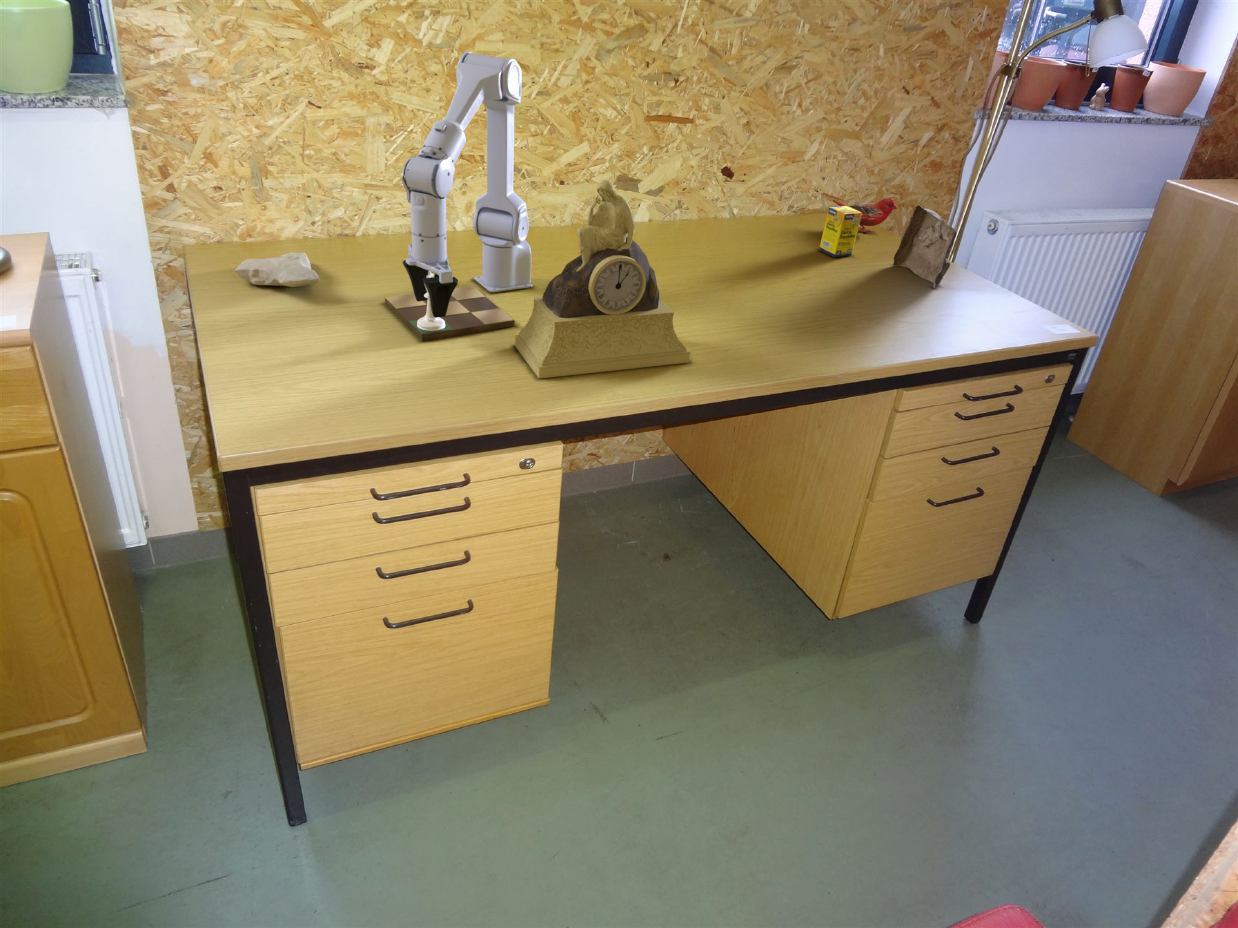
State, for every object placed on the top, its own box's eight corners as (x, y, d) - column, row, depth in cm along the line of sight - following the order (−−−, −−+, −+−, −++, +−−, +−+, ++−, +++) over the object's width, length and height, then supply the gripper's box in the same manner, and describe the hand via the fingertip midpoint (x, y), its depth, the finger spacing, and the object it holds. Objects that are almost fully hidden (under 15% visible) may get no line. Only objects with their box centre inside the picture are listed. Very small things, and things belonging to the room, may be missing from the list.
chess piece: (450, 323, 154) (449, 270, 149) (436, 333, 150) (435, 278, 145) (425, 318, 156) (424, 264, 150) (411, 327, 152) (409, 273, 146)
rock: (237, 306, 156) (322, 295, 160) (230, 281, 153) (317, 271, 158) (241, 272, 173) (318, 263, 177) (235, 250, 171) (313, 241, 175)
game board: (472, 292, 172) (472, 285, 171) (514, 326, 159) (514, 319, 159) (385, 303, 162) (384, 297, 162) (421, 341, 150) (421, 334, 150)
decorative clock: (538, 378, 142) (547, 195, 126) (515, 346, 152) (520, 172, 136) (688, 362, 153) (714, 192, 137) (657, 333, 163) (678, 171, 147)
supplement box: (834, 258, 212) (844, 213, 206) (818, 250, 216) (828, 206, 211) (852, 256, 215) (862, 212, 209) (835, 248, 219) (846, 205, 213)
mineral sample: (891, 264, 212) (908, 203, 204) (904, 264, 213) (922, 203, 205) (934, 290, 199) (954, 225, 191) (948, 289, 200) (968, 225, 192)
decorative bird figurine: (888, 239, 231) (898, 201, 226) (825, 223, 238) (834, 187, 232) (891, 236, 233) (901, 199, 228) (829, 221, 240) (837, 185, 235)
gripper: (390, 221, 147) (393, 296, 154) (423, 248, 137) (425, 327, 144) (429, 217, 151) (430, 291, 158) (464, 244, 141) (464, 321, 148)
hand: (430, 308), depth 151 cm, fingers open, 7 cm apart
